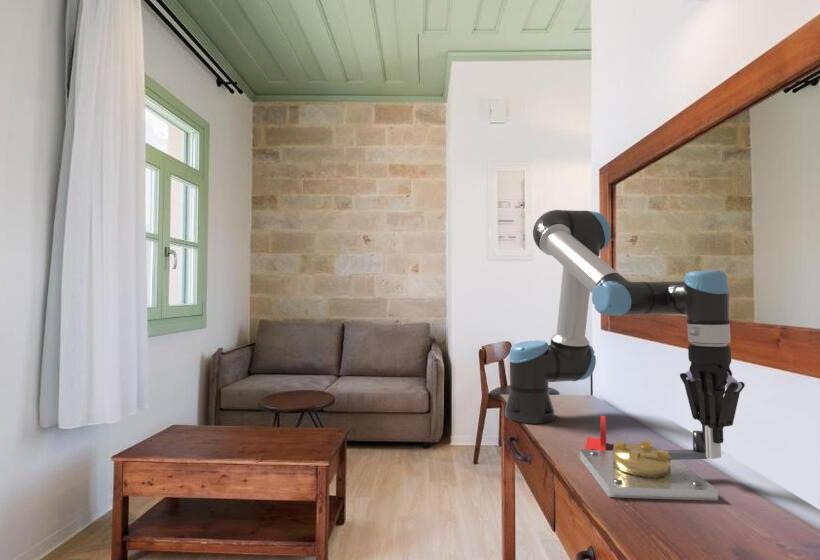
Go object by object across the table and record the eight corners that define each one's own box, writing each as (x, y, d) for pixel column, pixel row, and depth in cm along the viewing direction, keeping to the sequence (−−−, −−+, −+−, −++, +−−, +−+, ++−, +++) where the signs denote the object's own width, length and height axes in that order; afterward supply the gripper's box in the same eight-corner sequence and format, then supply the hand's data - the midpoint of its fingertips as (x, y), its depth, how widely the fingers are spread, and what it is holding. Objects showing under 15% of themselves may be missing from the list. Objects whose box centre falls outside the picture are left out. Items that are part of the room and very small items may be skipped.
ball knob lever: (629, 477, 91) (629, 443, 91) (603, 457, 102) (603, 426, 102) (724, 475, 92) (723, 440, 92) (688, 455, 103) (688, 424, 103)
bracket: (587, 441, 120) (587, 411, 120) (606, 443, 118) (605, 413, 118) (584, 456, 109) (584, 423, 109) (605, 459, 107) (604, 426, 107)
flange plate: (579, 458, 108) (579, 448, 108) (667, 460, 106) (667, 450, 106) (609, 497, 88) (609, 485, 88) (718, 500, 86) (717, 488, 86)
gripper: (669, 342, 100) (673, 449, 99) (724, 348, 88) (730, 471, 87) (695, 340, 102) (699, 445, 102) (752, 346, 90) (758, 465, 90)
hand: (713, 457), depth 94 cm, fingers closed
